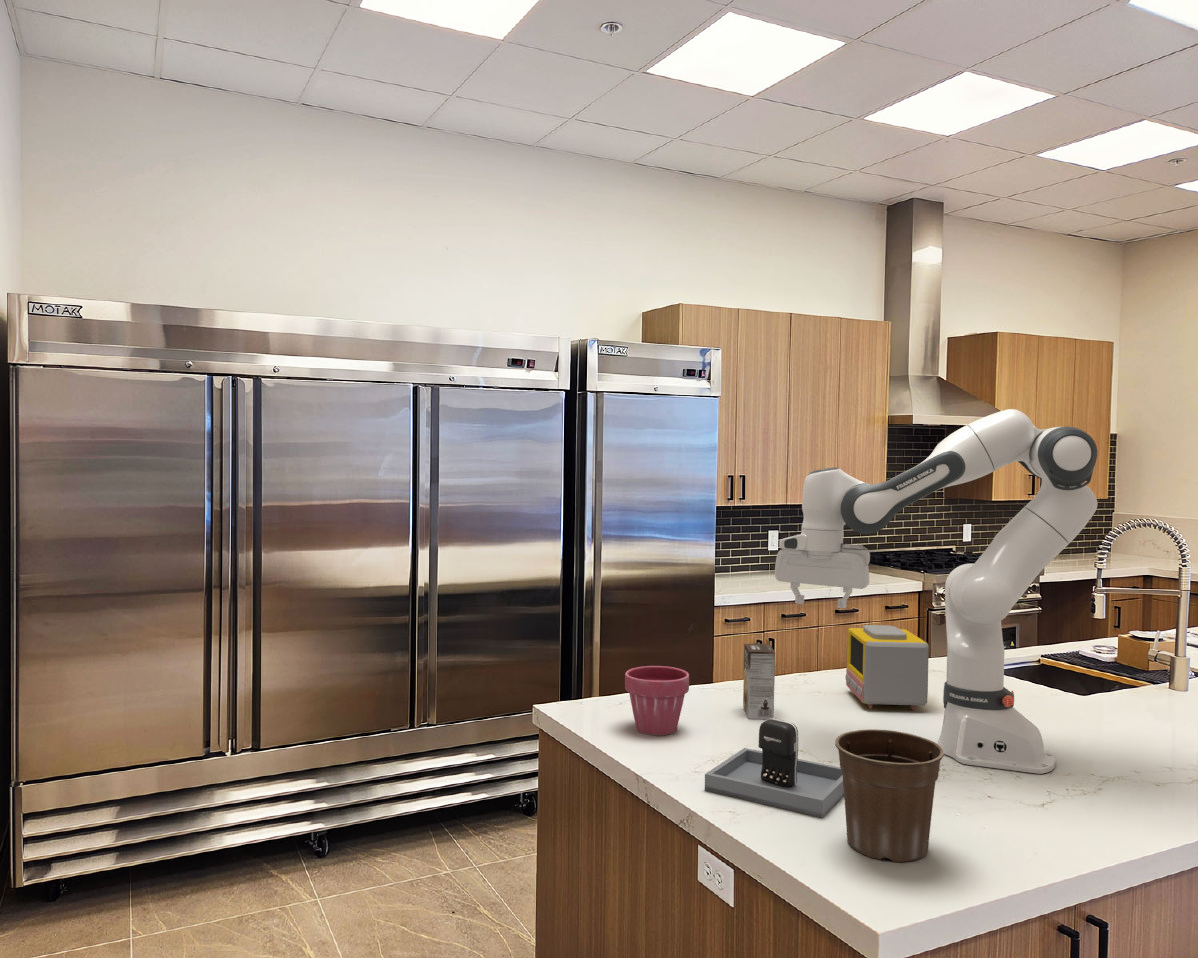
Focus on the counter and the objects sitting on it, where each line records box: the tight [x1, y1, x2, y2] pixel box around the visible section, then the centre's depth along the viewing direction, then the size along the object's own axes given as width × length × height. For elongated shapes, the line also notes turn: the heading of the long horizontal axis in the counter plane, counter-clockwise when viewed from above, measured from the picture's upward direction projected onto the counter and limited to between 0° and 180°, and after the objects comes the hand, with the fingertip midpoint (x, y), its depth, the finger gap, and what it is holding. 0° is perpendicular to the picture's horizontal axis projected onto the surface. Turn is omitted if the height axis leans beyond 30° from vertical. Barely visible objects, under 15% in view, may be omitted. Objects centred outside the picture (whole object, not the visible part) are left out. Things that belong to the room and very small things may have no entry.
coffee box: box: [742, 643, 776, 720], centre depth 212 cm, size 9×6×16 cm
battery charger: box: [758, 718, 799, 787], centre depth 164 cm, size 7×4×11 cm, turn 47°
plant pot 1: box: [624, 665, 690, 736], centre depth 199 cm, size 14×14×13 cm
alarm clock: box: [845, 624, 930, 711], centre depth 225 cm, size 20×16×18 cm
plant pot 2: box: [834, 728, 945, 863], centre depth 140 cm, size 16×16×16 cm
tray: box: [704, 747, 844, 819], centre depth 164 cm, size 22×18×3 cm
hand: (820, 605), depth 194 cm, fingers open, 8 cm apart
